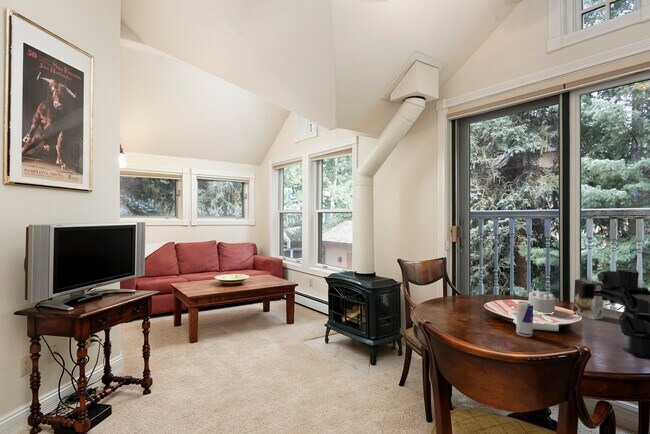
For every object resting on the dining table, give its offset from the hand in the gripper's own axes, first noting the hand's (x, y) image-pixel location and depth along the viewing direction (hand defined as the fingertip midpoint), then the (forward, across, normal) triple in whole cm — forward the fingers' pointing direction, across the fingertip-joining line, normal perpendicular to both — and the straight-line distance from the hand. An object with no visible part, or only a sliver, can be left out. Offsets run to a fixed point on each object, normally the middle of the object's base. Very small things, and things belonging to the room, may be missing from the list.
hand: (592, 287), depth 137 cm
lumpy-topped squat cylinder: (+21, +10, +16) cm, 28 cm away
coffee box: (+17, -8, +16) cm, 25 cm away
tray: (0, +23, +17) cm, 28 cm away
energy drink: (-13, +31, +17) cm, 38 cm away
